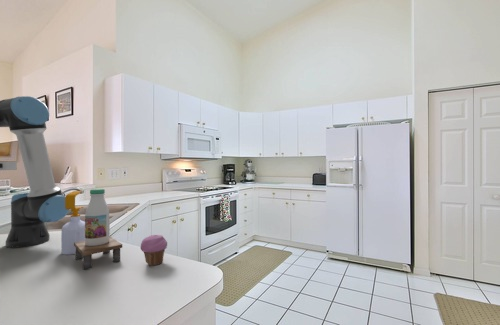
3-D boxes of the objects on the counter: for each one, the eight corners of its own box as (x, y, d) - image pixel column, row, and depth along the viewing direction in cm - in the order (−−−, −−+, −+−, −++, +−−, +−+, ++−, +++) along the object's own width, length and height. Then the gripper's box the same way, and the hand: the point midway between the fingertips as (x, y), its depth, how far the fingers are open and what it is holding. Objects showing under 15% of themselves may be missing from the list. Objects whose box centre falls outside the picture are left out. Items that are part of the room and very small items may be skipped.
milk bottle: (92, 240, 94) (92, 188, 95) (113, 239, 95) (113, 188, 95) (80, 247, 87) (80, 190, 87) (103, 246, 87) (102, 190, 88)
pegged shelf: (73, 258, 92) (74, 242, 92) (109, 250, 101) (109, 236, 101) (83, 270, 81) (83, 252, 81) (122, 260, 89) (122, 244, 89)
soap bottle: (93, 247, 105) (93, 190, 105) (76, 255, 96) (76, 192, 96) (74, 247, 106) (74, 190, 106) (55, 254, 97) (55, 192, 97)
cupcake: (170, 264, 85) (170, 235, 86) (144, 271, 80) (144, 240, 80) (162, 257, 92) (162, 230, 93) (137, 262, 87) (137, 234, 87)
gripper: (-72, 178, 82) (15, 176, 97) (-95, 180, 65) (17, 177, 79) (-72, 155, 83) (15, 157, 97) (-94, 151, 65) (17, 153, 80)
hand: (16, 166), depth 88 cm, fingers open, 13 cm apart
